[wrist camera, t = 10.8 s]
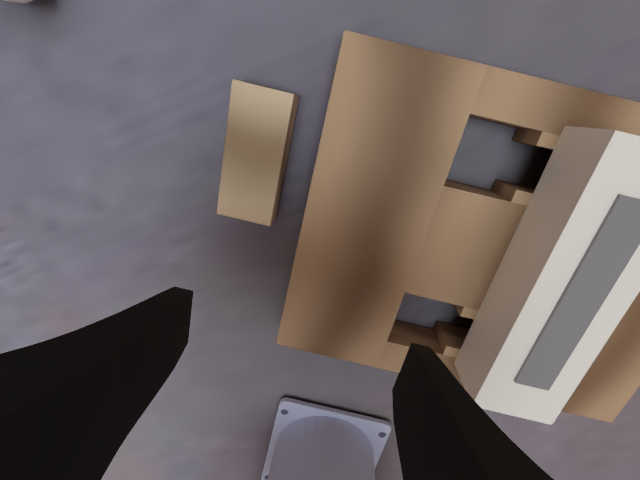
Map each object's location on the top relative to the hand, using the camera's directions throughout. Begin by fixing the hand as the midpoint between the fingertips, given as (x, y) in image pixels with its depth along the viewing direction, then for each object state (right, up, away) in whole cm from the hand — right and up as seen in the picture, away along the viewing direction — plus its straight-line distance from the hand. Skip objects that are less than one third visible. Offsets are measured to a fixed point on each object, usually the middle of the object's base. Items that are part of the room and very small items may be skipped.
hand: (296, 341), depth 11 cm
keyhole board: (+10, +3, +8) cm, 13 cm away
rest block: (-2, +8, +7) cm, 11 cm away
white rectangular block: (+12, +2, +8) cm, 14 cm away
